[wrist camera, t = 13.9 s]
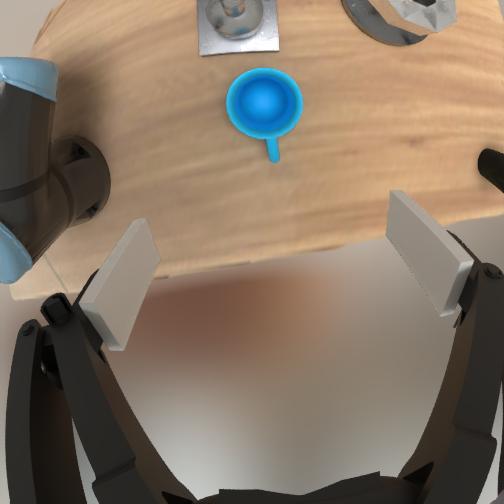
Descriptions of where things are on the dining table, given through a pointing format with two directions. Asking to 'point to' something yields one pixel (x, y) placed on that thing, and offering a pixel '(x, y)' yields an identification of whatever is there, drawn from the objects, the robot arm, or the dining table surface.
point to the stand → (237, 26)
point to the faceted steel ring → (417, 14)
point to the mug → (265, 106)
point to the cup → (492, 167)
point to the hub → (378, 24)
